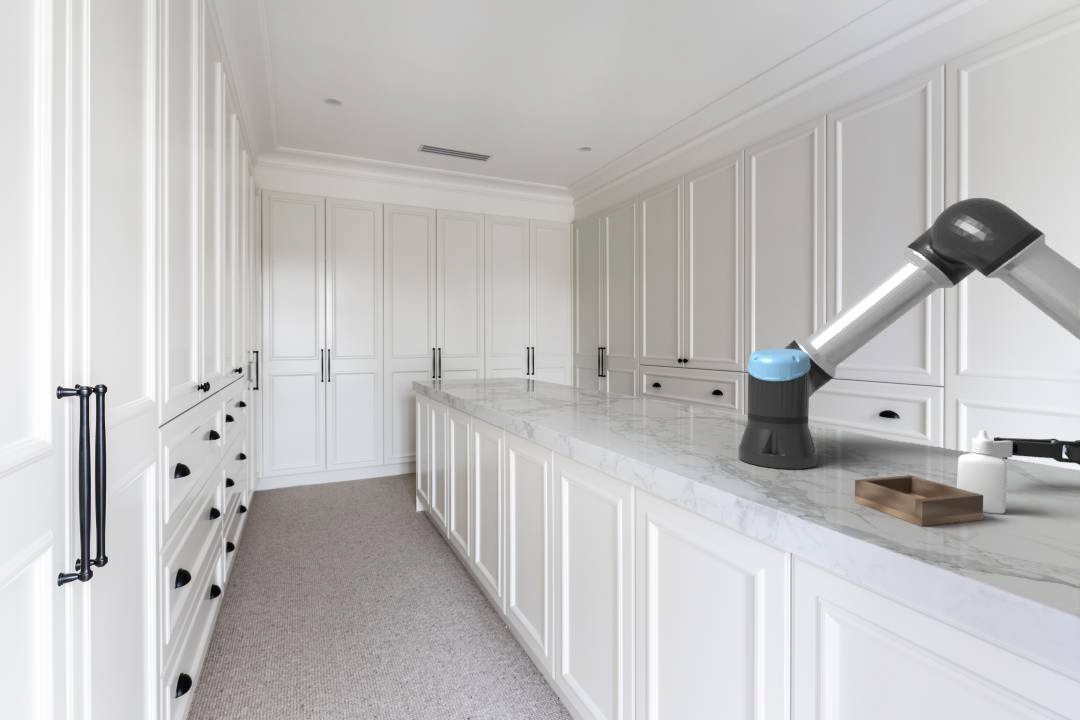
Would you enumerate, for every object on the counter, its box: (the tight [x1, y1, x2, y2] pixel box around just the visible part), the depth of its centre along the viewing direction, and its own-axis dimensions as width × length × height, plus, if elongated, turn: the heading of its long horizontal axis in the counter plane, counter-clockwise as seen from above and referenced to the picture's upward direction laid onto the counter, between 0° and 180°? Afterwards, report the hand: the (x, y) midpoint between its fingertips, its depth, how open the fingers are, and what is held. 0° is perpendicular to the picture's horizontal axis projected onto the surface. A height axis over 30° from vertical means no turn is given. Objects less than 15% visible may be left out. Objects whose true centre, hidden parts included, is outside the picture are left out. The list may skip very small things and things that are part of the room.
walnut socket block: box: [854, 475, 984, 527], centre depth 77 cm, size 11×11×4 cm
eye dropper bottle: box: [956, 429, 1008, 515], centre depth 77 cm, size 4×6×12 cm
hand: (1028, 460), depth 80 cm, fingers open, 13 cm apart
